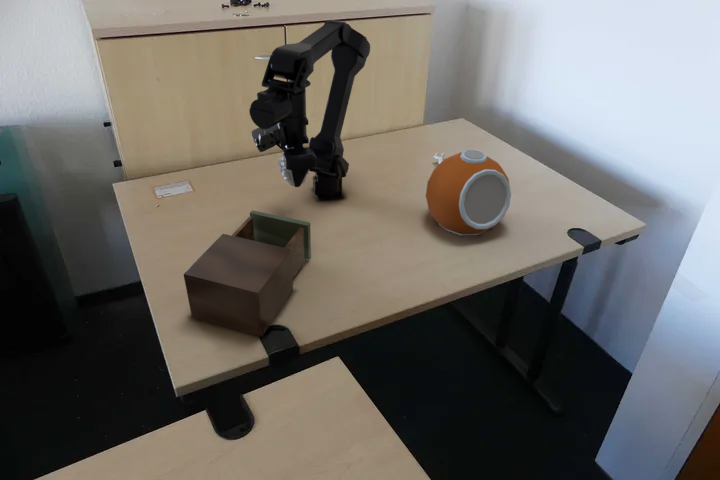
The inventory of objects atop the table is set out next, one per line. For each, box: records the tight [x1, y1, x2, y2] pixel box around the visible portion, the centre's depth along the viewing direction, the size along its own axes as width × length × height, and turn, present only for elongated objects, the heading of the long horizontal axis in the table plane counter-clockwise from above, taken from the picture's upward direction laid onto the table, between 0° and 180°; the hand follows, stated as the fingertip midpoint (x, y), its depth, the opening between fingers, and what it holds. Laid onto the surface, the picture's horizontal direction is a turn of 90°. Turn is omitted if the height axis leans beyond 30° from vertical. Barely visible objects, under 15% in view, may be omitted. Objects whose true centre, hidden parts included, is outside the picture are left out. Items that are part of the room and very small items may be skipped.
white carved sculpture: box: [278, 156, 310, 187], centre depth 118 cm, size 6×7×7 cm
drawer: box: [231, 209, 312, 280], centre depth 110 cm, size 17×13×9 cm
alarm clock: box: [425, 149, 512, 236], centre depth 124 cm, size 19×18×17 cm
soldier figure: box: [432, 151, 445, 165], centre depth 147 cm, size 8×5×12 cm
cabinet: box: [183, 233, 294, 338], centre depth 99 cm, size 13×14×10 cm
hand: (294, 179), depth 120 cm, fingers closed on white carved sculpture, 6 cm apart
